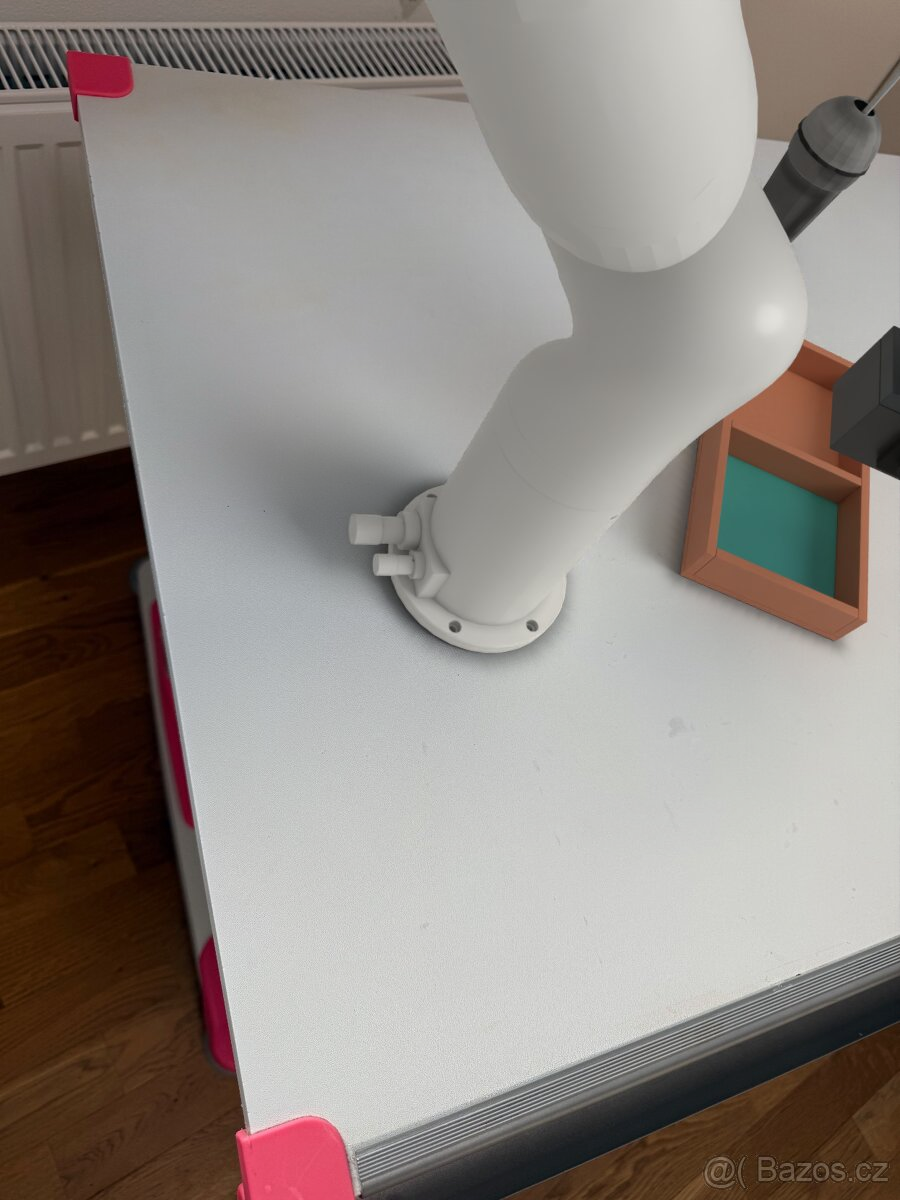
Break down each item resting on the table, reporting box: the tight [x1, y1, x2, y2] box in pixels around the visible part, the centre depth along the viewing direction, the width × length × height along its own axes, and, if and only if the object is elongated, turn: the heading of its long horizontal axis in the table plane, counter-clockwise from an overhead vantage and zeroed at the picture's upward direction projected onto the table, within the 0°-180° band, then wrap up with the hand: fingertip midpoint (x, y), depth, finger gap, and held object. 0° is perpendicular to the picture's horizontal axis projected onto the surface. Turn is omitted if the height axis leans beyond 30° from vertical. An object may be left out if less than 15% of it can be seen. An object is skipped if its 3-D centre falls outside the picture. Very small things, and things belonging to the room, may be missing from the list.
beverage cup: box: [762, 68, 900, 244], centre depth 85 cm, size 7×7×20 cm
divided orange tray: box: [679, 338, 871, 642], centre depth 78 cm, size 14×26×4 cm, turn 166°
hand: (896, 432), depth 65 cm, fingers closed on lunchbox, 6 cm apart
